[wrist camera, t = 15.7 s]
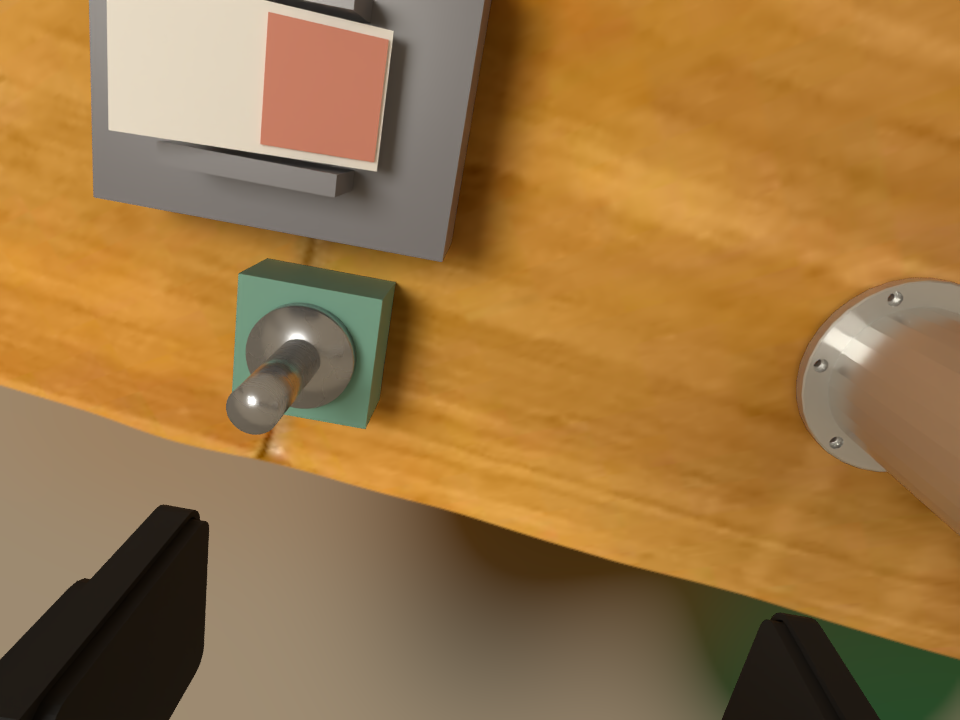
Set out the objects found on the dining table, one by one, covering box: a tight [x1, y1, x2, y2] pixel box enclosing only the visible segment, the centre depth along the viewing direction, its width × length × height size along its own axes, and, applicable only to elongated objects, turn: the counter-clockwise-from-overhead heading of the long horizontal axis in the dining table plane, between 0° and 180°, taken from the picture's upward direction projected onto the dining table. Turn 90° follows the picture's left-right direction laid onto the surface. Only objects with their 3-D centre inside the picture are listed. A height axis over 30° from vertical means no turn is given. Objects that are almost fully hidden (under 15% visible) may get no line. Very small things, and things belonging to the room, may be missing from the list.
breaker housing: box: [89, 0, 491, 262], centre depth 32 cm, size 18×14×10 cm
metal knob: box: [226, 303, 357, 434], centre depth 35 cm, size 6×6×12 cm
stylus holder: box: [232, 258, 396, 429], centre depth 39 cm, size 8×8×4 cm
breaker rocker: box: [107, 0, 394, 172], centre depth 28 cm, size 11×6×2 cm, turn 80°
